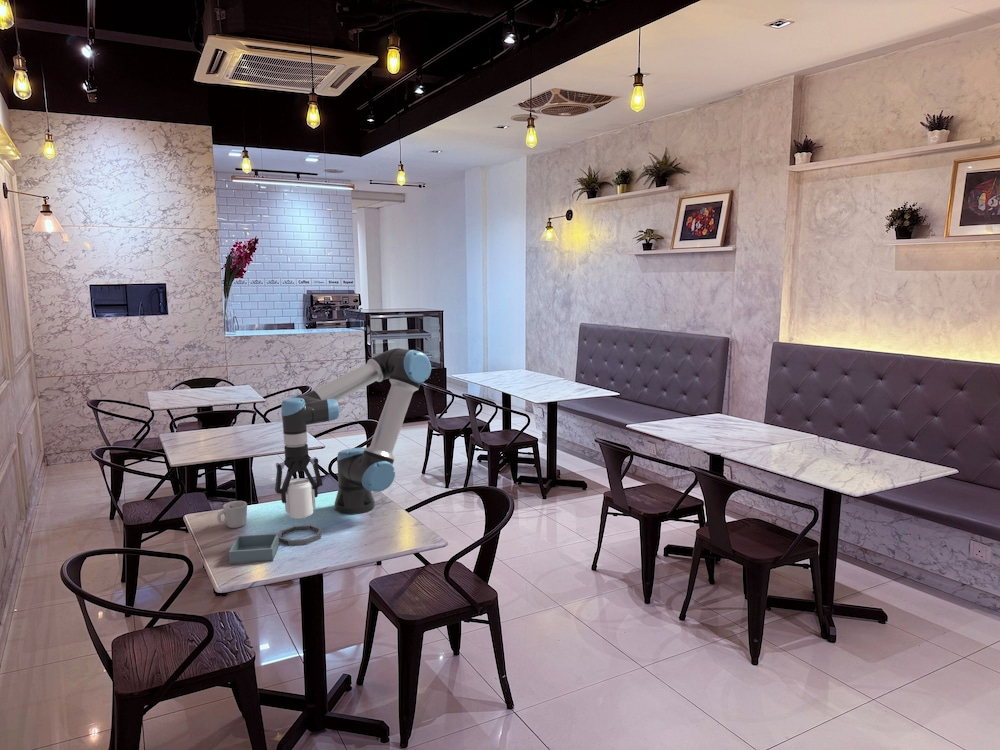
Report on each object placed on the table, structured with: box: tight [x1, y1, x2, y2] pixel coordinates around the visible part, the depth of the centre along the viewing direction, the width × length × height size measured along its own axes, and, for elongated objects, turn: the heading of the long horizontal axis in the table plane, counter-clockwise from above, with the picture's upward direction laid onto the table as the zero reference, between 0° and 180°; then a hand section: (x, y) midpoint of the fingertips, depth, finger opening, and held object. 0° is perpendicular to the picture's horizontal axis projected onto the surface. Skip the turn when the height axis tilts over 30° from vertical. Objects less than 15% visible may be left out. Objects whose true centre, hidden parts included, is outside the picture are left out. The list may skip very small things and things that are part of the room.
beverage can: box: [286, 477, 314, 519], centre depth 227 cm, size 8×8×12 cm
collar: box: [278, 524, 323, 546], centre depth 228 cm, size 14×14×2 cm
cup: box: [216, 500, 248, 529], centre depth 237 cm, size 11×8×8 cm
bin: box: [228, 533, 280, 565], centre depth 214 cm, size 13×13×4 cm
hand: (300, 509), depth 227 cm, fingers closed on beverage can, 8 cm apart
